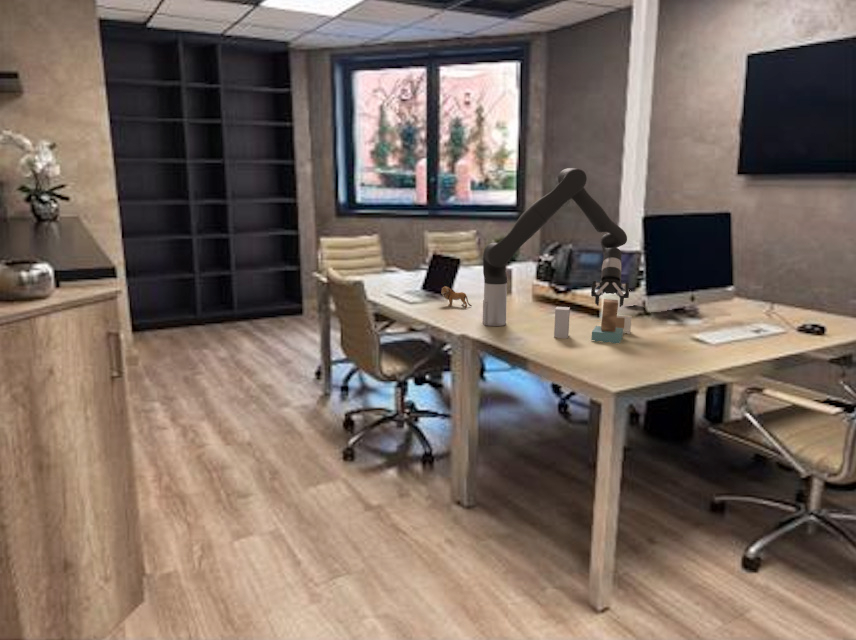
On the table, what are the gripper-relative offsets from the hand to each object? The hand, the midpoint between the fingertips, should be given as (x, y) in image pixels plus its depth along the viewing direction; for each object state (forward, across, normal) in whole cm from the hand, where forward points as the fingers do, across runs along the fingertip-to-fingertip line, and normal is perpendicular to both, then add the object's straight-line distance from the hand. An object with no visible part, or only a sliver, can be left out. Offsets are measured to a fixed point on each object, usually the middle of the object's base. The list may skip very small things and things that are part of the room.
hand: (609, 305), depth 250 cm
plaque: (+7, +4, +8) cm, 11 cm away
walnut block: (+13, 0, -3) cm, 14 cm away
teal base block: (+16, 0, 0) cm, 16 cm away
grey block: (+16, -17, -1) cm, 23 cm away
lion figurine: (-15, -70, +30) cm, 77 cm away
